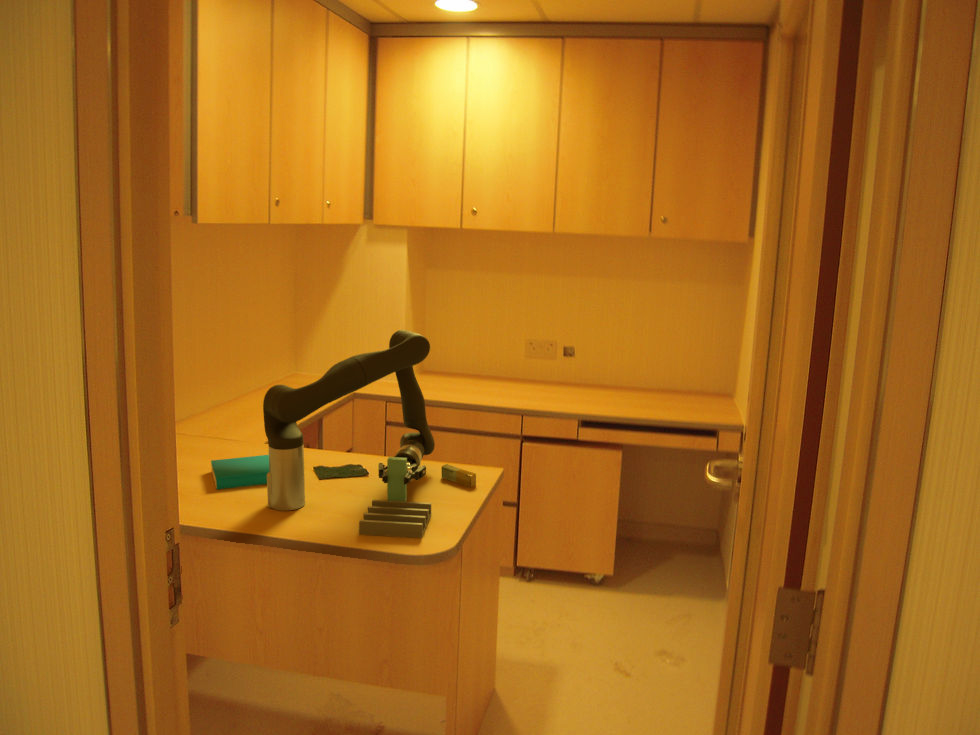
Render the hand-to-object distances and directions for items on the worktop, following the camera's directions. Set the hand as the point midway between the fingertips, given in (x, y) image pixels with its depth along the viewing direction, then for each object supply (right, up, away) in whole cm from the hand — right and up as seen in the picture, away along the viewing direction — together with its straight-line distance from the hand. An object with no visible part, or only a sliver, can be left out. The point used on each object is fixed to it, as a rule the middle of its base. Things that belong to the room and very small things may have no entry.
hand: (395, 480), depth 223 cm
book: (-45, -3, +26) cm, 52 cm away
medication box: (+16, -4, +25) cm, 30 cm away
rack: (+1, -10, -7) cm, 13 cm away
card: (0, -6, +4) cm, 7 cm away
